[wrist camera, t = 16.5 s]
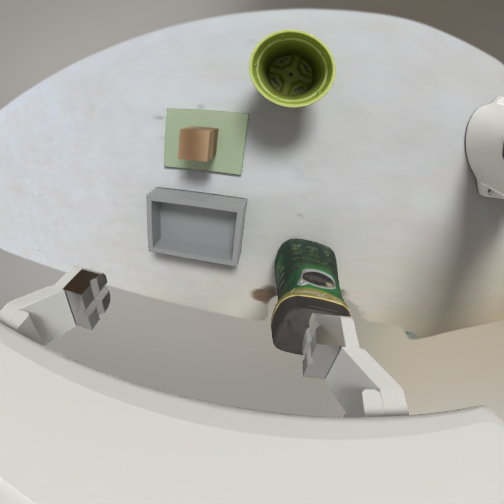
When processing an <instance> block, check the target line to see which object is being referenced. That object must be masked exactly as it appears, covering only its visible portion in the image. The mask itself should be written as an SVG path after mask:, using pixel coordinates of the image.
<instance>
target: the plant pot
mask: <svg viewBox="0 0 504 504" xmlns="http://www.w3.org/2000/svg"><path fill="white" fill-rule="evenodd" d="M282 59H287V61H284V62H281V63H280V64H278V62H279V61H281V60H282ZM303 64H305V65H306V67H307V68H308V70H309V71H308V72H307V71H306V69H305V67H304V66H303ZM249 72H250V77H251V80H252V82H253V84H254V86H255V87H256V89H257V90H258V91H259V92H260V93H261V94H262V95H263V96H264V97H265V98H266V99H268V100H269V101H271V102H273V103H275V104H278V105H281V106H285V107H303V106H307V105H310V104H313V103H315V102H317V101H318V100H320V99H321V98H322V97H324V96H325V95H326V94H327V92H328V91H329V90H330V88H331V87H332V85H333V82H334V80H335V75H336V65H335V61H334V58H333V55H332V53H331V52H330V50H329V49H328V47H327V46H326V45H325V44H324V43H323V42H322V41H321V40H320V39H318V38H317V37H315V36H313V35H311V34H309V33H307V32H303V31H299V30H281V31H277V32H274V33H272V34H270V35H268V36H266V37H265V38H263V39H262V40H261V41H260V42H259V43H258V44H257V45H256V47H255V48H254V50H253V52H252V54H251V57H250V61H249ZM289 73H292V74H293V76H290V75H289ZM273 78H275V79H276V81H277V83H278V84H279V86H277V85H276V84H275V82H274V81H273ZM301 86H303V89H302V90H299V91H294V90H295V89H298V88H300V87H301Z"/></svg>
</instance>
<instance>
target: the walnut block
mask: <svg viewBox="0 0 504 504" xmlns="http://www.w3.org/2000/svg"><path fill="white" fill-rule="evenodd" d="M218 131H219V128H210V127H197V126H191V127H187V128H183V129H180V134H179V149H178V159H184V160H195V161H204V162H208V161H209V160H210V159H212V158H213V157H214V156H216V151H217V140H218Z"/></svg>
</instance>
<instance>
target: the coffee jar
mask: <svg viewBox="0 0 504 504" xmlns="http://www.w3.org/2000/svg"><path fill="white" fill-rule="evenodd" d="M275 275H276V283H277V292H278V303H277V304H276V306H275V308H274V311H273V315H272V319H271V329H272V338H273V343H274V345H275V346H276V347H277V348H278V349H280V350H282V351H286V352H290V353H294V354H300V355H303V353H302V348H303V340H304V335H305V332H306V329H308V328H309V327H310V325H309V320H310V317H311V315H312V313H318V314H326V315H334V316H346V317H350V316H351V315H350V311H349V308H348V307H347V305H346V303H345V302H344V300H343V298H342V296H341V292H340V287H339V281H338V272H337V263H336V258H335V254H334V252H333V251H332V250H331V249H330V248H329V247H327V246H324V245H322V244H319V243H316V242H312V241H308V240H303V239H290V240H288V241H286V242H284V243H283V244H282V246H281V247H280V249H279V251H278V254H277V257H276V261H275Z"/></svg>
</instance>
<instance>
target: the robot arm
mask: <svg viewBox="0 0 504 504" xmlns="http://www.w3.org/2000/svg"><path fill="white" fill-rule="evenodd" d="M466 153H467V158H468V161H469V164H470V167H471V169H472V171H473V173H474V175H475V177H476V179H477V186H478V191H479V194H480V195H482V196H484V197H492V198H500V199H504V97H503V96H498V97H497V98H496V99H495V100H494V101H493V102H492V103H490V104H487V105H484V106H481V107H480V108H479V109H477V110H476V111H475V113H474V114H473V116H472V117H471V119H470V122H469V124H468V128H467V133H466ZM488 190H489V191H488ZM106 283H107V279H106V275H105V274H103V273H101V272H97V271H93V270H90V269H86V268H82V267H78V266H74V267H72V268H71V269H70V270H69V271H68V272H67V273H66V274H65V275H64V276H63V277H62V278H61V279H60V280H59V281H58V282H57V283H56V284H55V285H54V286H48V287H46V288H43V289H41V290H38V291H35V292H33V293H30V294H28V295H25V296H23V297H20V298H18V299H15V300H13V301H10V302H8V303H7V304H6V306H5V307H4V308H3V309H2V310H1V311H0V504H504V421H503V420H502V419H501V418H500V417H499V416H498V415H497V414H496V413H495V412H494V411H493V410H492V409H490V408H489V407H487V406H483V405H480V406H474V407H469V408H463V409H457V410H451V411H445V412H437V413H429V414H419V415H409V413H408V409H407V405H406V400H405V396H404V392H403V389H402V388H401V387H400V386H399V385H398V384H397V383H396V381H394V379H393V378H391V377H390V375H389V374H388V373H387V372H386V371H385V370H384V369H383V368H382V367H381V366H380V365H379V364H378V363H377V362H376V361H375V360H374V359H373V358H372V357H371V356H370V355H369V354H368V353H367V352H366V351H365V350H364V349H360V347H359V343H358V338H357V334H356V330H355V325H354V321H353V318H352V317H346V316H334V315H326V314H318V313H312V315H311V317H310V320H309V325H310V327H309V328H308V329H306V332H305V335H304V340H303V348H302V353H303V355H304V356H305V358H304V360H303V377H311V378H320V379H325V381H326V383H327V384H328V386H329V387H330V389H331V390H332V392H333V393H334V395H335V397H336V398H337V399H338V401H339V402H340V404H341V406H342V407H343V409H344V410H345V412H346V414H345V415H344V417H322V416H306V415H294V414H283V413H274V412H266V411H258V410H252V409H245V408H238V407H233V406H227V405H222V404H217V403H212V402H207V401H202V400H198V399H193V398H188V397H185V396H181V395H176V394H173V393H169V392H165V391H162V390H158V389H155V388H151V387H148V386H145V385H141V384H138V383H135V382H132V381H129V380H126V379H123V378H120V377H117V376H114V375H111V374H108V373H106V372H103V371H101V370H98V369H95V368H93V367H90V366H88V365H85V364H83V363H80V362H78V361H76V360H73V359H71V358H69V357H66V356H64V355H62V354H60V353H57V352H55V351H53V350H51V349H49V348H47V347H45V346H44V345H46V344H47V343H49V342H51V341H52V340H54V339H55V338H57V337H59V336H61V335H62V334H64V333H66V332H67V331H69V330H70V329H72V328H74V327H75V326H76V325H78V326H81V327H84V328H87V329H90V330H93V328H94V327H95V325H96V324H97V322H98V321H99V320H100V318H99V315H100V314H102V313H105V311H106V310H107V308H108V306H109V303H110V293H109V290H108V289H107V287H106V286H105V285H106Z"/></svg>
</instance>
